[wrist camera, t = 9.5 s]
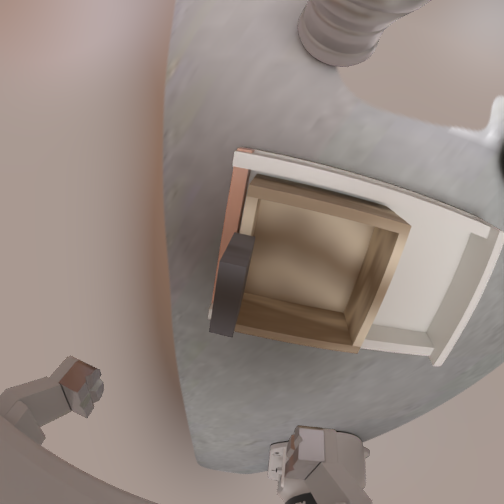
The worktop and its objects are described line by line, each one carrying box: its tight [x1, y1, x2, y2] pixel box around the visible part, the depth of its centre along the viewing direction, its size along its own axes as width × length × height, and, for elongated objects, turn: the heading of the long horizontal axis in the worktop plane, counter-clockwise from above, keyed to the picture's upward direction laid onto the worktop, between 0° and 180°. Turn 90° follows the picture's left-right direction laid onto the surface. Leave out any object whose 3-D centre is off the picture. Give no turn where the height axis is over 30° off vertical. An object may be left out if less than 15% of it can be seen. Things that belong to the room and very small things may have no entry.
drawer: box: [209, 174, 411, 354], centre depth 22 cm, size 12×12×11 cm
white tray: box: [208, 147, 504, 366], centre depth 25 cm, size 16×26×6 cm, turn 79°
